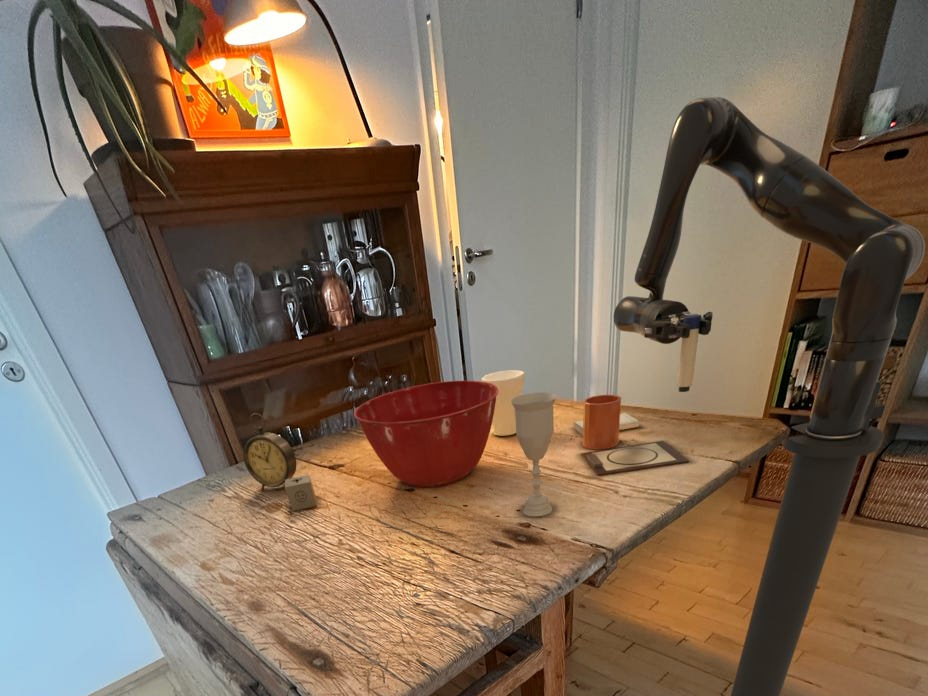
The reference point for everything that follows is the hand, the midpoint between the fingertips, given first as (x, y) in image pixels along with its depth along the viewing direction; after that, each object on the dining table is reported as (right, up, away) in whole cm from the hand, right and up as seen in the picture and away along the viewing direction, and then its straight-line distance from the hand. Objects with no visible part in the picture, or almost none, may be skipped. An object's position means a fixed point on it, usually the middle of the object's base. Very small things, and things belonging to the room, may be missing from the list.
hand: (697, 329), depth 96 cm
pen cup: (-13, -15, +16) cm, 26 cm away
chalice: (-31, -35, -7) cm, 47 cm away
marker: (+1, -7, +9) cm, 11 cm away
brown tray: (-10, -22, +7) cm, 25 cm away
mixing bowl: (-49, -23, +14) cm, 56 cm away
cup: (-32, -7, +32) cm, 46 cm away
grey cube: (-76, -30, +12) cm, 83 cm away
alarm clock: (-85, -23, +23) cm, 91 cm away
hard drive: (-10, -8, +24) cm, 28 cm away
